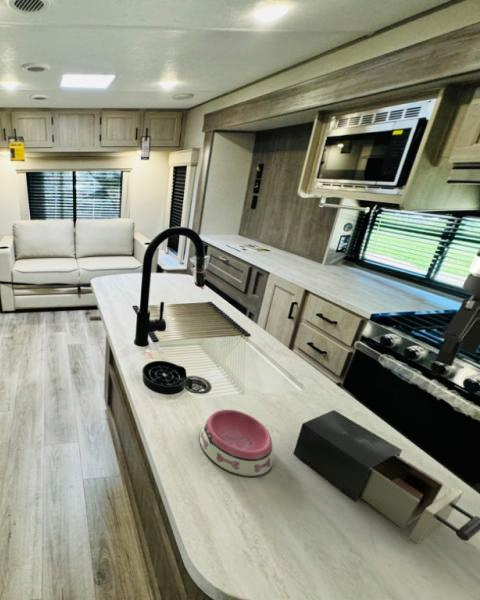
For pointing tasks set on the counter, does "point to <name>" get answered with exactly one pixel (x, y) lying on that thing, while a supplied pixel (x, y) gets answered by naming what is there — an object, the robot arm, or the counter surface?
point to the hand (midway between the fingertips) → (455, 356)
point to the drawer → (414, 499)
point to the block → (408, 488)
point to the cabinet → (342, 451)
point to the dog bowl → (237, 443)
